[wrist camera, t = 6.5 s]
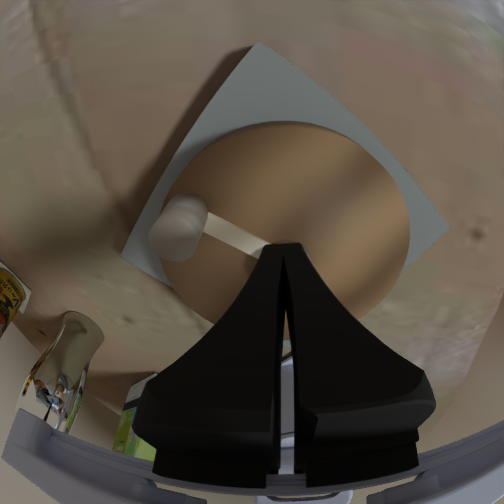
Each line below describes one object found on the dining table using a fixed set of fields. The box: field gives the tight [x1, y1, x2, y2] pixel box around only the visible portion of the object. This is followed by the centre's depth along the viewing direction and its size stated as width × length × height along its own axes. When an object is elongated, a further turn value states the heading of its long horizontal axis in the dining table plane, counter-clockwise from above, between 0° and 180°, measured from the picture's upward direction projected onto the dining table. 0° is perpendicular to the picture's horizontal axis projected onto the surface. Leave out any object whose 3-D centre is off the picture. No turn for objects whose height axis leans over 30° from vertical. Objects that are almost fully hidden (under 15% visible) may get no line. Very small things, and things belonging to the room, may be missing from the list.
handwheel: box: [149, 121, 410, 341], centre depth 17 cm, size 16×16×5 cm
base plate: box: [120, 41, 450, 349], centre depth 20 cm, size 18×18×2 cm
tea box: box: [112, 373, 157, 461], centre depth 33 cm, size 15×10×15 cm, turn 46°
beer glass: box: [14, 312, 104, 435], centre depth 24 cm, size 7×7×15 cm
